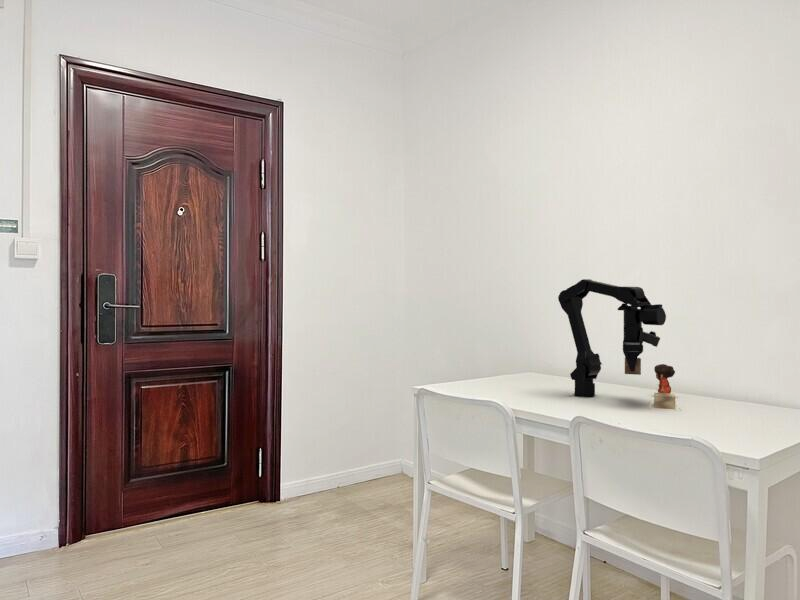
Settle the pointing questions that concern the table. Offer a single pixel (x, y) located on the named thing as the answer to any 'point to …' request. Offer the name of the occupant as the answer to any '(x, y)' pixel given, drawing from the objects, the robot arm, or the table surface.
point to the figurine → (664, 377)
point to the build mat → (665, 409)
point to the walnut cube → (637, 367)
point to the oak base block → (664, 400)
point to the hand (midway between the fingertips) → (632, 370)
